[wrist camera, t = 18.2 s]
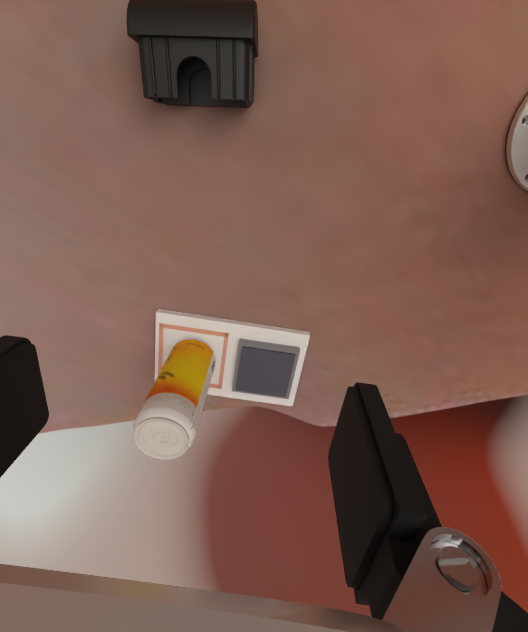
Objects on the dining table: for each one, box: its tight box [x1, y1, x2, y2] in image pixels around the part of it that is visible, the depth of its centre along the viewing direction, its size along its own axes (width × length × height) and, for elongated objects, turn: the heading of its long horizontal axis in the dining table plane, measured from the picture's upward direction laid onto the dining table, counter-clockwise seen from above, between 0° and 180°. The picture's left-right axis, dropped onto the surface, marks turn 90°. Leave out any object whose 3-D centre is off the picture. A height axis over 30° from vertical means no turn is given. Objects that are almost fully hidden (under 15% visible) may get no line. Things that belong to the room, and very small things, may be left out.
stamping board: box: [155, 309, 310, 406], centre depth 46 cm, size 20×12×2 cm, turn 81°
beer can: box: [134, 339, 216, 460], centre depth 39 cm, size 6×6×15 cm
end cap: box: [127, 0, 258, 108], centre depth 30 cm, size 10×7×7 cm
